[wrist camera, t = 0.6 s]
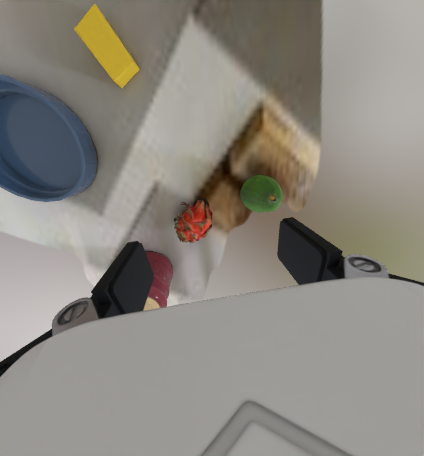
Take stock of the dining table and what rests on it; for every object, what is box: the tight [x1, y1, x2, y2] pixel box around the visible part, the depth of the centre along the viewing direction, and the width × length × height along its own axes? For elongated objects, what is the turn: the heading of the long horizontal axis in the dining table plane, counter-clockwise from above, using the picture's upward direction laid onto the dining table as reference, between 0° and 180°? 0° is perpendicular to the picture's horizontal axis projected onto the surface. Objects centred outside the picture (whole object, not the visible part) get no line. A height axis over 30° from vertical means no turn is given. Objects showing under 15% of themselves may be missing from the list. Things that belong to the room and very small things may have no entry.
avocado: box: [240, 175, 283, 212], centre depth 33 cm, size 8×8×12 cm
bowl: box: [0, 75, 97, 202], centre depth 29 cm, size 19×19×4 cm
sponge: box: [74, 4, 140, 88], centre depth 25 cm, size 7×4×3 cm, turn 35°
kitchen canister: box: [143, 251, 173, 311], centre depth 38 cm, size 13×13×18 cm
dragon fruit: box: [174, 198, 212, 243], centre depth 37 cm, size 8×8×12 cm
